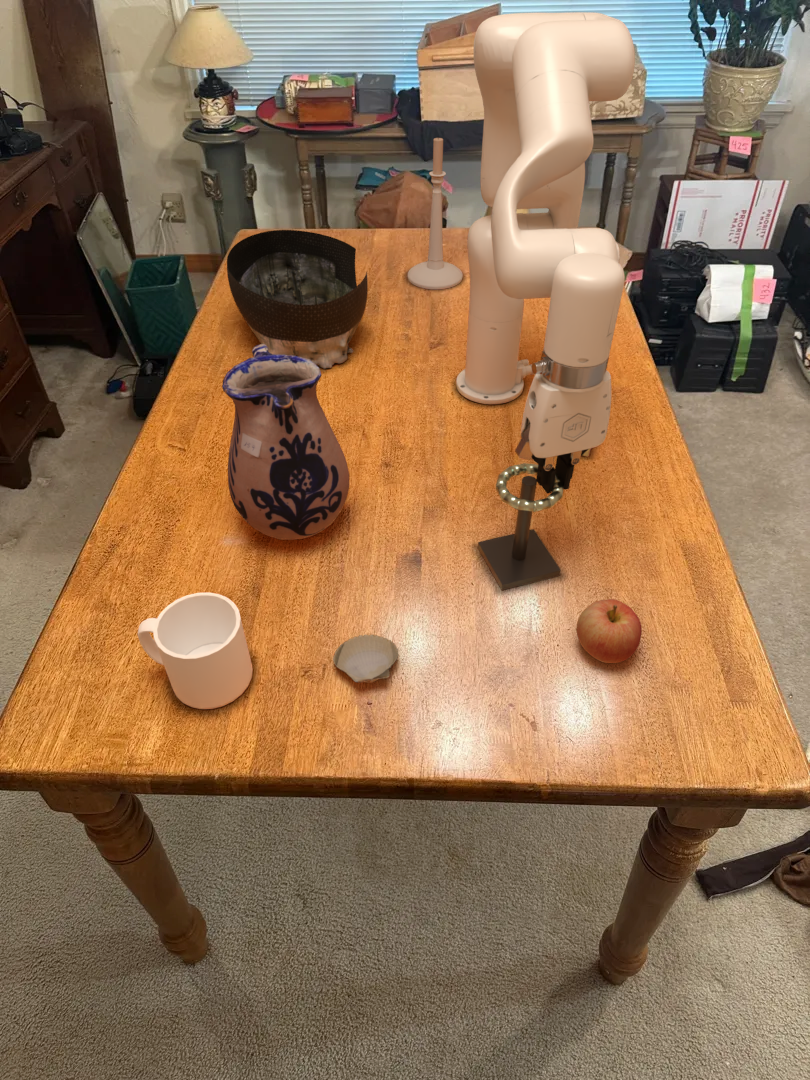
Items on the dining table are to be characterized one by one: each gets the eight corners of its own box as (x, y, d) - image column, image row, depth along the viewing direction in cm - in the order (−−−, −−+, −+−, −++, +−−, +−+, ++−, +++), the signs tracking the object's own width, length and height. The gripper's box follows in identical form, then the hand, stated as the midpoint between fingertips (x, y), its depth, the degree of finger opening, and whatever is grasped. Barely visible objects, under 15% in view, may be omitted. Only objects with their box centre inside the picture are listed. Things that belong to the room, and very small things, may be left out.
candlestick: (463, 289, 172) (471, 146, 151) (407, 289, 172) (406, 146, 151) (461, 265, 181) (468, 127, 160) (407, 264, 181) (407, 127, 161)
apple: (580, 617, 102) (590, 577, 97) (639, 635, 100) (653, 594, 95) (565, 662, 97) (575, 621, 92) (628, 681, 95) (642, 641, 89)
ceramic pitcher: (260, 574, 108) (231, 431, 91) (215, 489, 122) (183, 350, 104) (371, 535, 114) (364, 393, 97) (316, 458, 128) (302, 321, 110)
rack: (532, 534, 114) (545, 453, 104) (559, 575, 108) (576, 494, 97) (477, 547, 112) (484, 466, 102) (501, 590, 106) (511, 509, 95)
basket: (377, 295, 170) (375, 222, 159) (363, 380, 145) (359, 300, 134) (252, 292, 171) (241, 220, 160) (217, 376, 146) (200, 297, 135)
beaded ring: (544, 464, 105) (545, 456, 104) (574, 504, 99) (575, 496, 98) (485, 477, 103) (486, 469, 102) (511, 519, 97) (512, 511, 96)
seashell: (390, 649, 101) (330, 644, 99) (395, 631, 99) (334, 626, 97) (397, 694, 94) (333, 689, 92) (402, 676, 92) (338, 671, 91)
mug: (260, 647, 99) (249, 594, 92) (242, 713, 92) (228, 661, 85) (166, 641, 100) (147, 588, 93) (141, 706, 93) (118, 654, 85)
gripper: (525, 393, 85) (510, 515, 97) (650, 369, 88) (619, 490, 101) (499, 359, 90) (487, 480, 103) (617, 338, 93) (592, 457, 106)
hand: (553, 484), depth 102 cm, fingers closed on beaded ring, 1 cm apart
